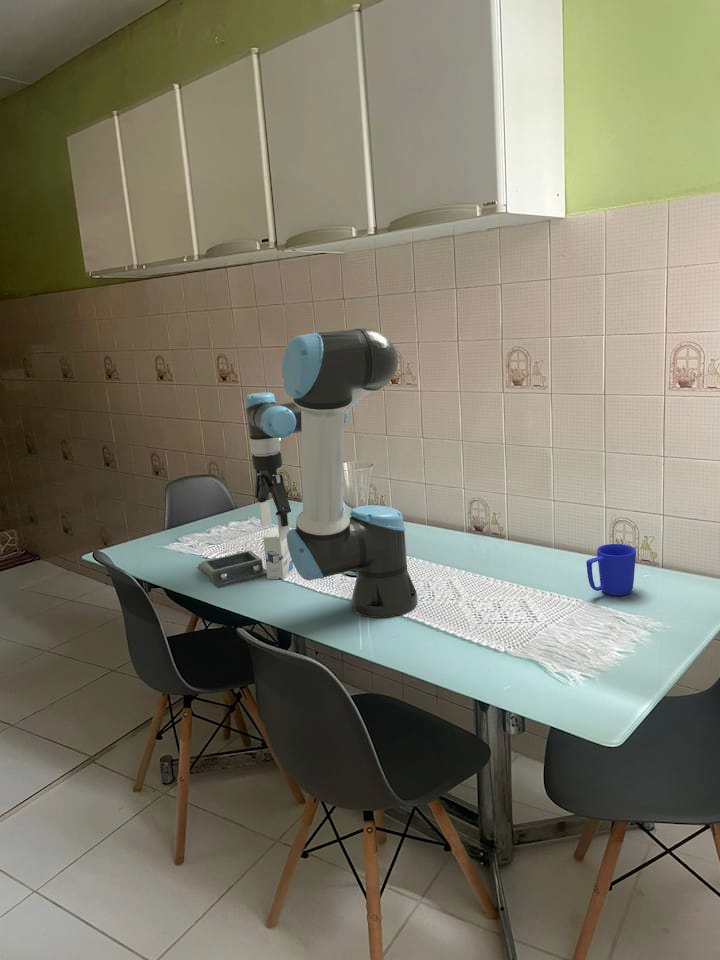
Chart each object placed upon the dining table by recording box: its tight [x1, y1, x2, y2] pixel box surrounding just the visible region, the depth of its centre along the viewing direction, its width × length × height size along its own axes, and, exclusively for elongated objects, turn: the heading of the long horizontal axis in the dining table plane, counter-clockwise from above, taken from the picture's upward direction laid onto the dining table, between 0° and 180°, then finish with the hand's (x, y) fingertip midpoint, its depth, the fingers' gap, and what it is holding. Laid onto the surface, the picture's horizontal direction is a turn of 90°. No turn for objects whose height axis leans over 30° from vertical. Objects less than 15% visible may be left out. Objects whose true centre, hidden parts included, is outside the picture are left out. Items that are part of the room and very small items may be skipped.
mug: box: [585, 543, 637, 597], centre depth 162 cm, size 8×12×10 cm
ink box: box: [263, 527, 294, 580], centre depth 194 cm, size 9×5×12 cm, turn 168°
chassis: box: [197, 549, 267, 589], centre depth 200 cm, size 20×14×3 cm
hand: (275, 531), depth 193 cm, fingers open, 13 cm apart
